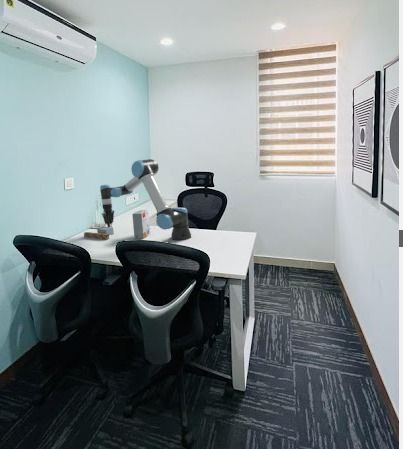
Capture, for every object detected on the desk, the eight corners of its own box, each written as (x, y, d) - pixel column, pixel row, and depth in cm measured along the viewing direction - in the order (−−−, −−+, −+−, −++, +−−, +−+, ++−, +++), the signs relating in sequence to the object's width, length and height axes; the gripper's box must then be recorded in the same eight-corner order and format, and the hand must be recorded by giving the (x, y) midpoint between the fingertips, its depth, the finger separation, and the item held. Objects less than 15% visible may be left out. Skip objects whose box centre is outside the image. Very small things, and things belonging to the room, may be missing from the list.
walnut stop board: (109, 239, 261) (108, 234, 260) (107, 239, 259) (106, 234, 258) (86, 236, 272) (86, 232, 271) (84, 237, 270) (83, 232, 269)
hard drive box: (143, 239, 255) (141, 213, 250) (134, 239, 257) (131, 213, 252) (150, 233, 270) (148, 209, 265) (141, 233, 271) (139, 209, 267)
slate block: (113, 234, 275) (113, 227, 274) (106, 237, 268) (105, 229, 267) (105, 233, 280) (104, 226, 278) (98, 236, 273) (97, 228, 272)
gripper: (108, 202, 281) (112, 229, 286) (97, 204, 270) (101, 232, 275) (115, 202, 277) (119, 229, 283) (104, 205, 266) (108, 233, 272)
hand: (110, 231), depth 279 cm, fingers closed
